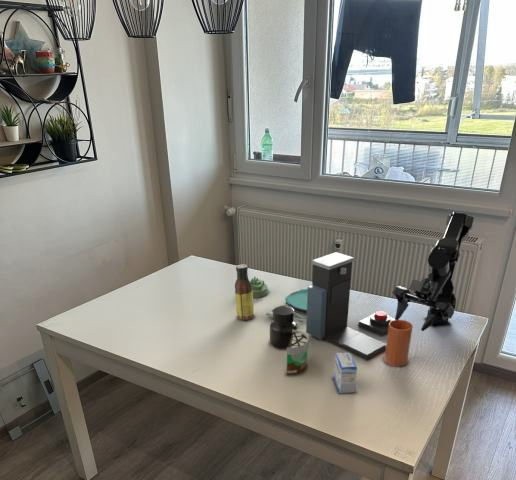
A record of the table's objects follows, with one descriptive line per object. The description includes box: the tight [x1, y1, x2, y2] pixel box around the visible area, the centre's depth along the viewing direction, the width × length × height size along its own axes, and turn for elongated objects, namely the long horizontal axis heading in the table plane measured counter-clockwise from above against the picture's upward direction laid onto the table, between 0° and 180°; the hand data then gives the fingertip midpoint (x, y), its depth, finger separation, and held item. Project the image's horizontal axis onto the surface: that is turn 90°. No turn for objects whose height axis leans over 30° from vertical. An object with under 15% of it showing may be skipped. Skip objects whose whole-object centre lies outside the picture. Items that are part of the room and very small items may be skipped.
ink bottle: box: [269, 305, 298, 350], centre depth 159 cm, size 10×9×12 cm
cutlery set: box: [264, 288, 308, 326], centre depth 184 cm, size 20×30×2 cm, turn 136°
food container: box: [285, 329, 311, 376], centre depth 146 cm, size 12×6×10 cm, turn 168°
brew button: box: [374, 310, 388, 320], centre depth 169 cm, size 4×4×2 cm
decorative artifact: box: [249, 276, 269, 299], centre depth 197 cm, size 10×7×10 cm
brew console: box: [358, 312, 395, 337], centre depth 170 cm, size 11×10×4 cm
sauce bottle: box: [234, 263, 255, 321], centre depth 174 cm, size 7×6×20 cm
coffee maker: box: [305, 251, 386, 361], centre depth 156 cm, size 14×25×26 cm, turn 41°
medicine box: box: [333, 352, 358, 394], centre depth 138 cm, size 8×4×9 cm, turn 5°
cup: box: [383, 319, 414, 367], centre depth 148 cm, size 7×7×12 cm
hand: (408, 325), depth 148 cm, fingers open, 9 cm apart
